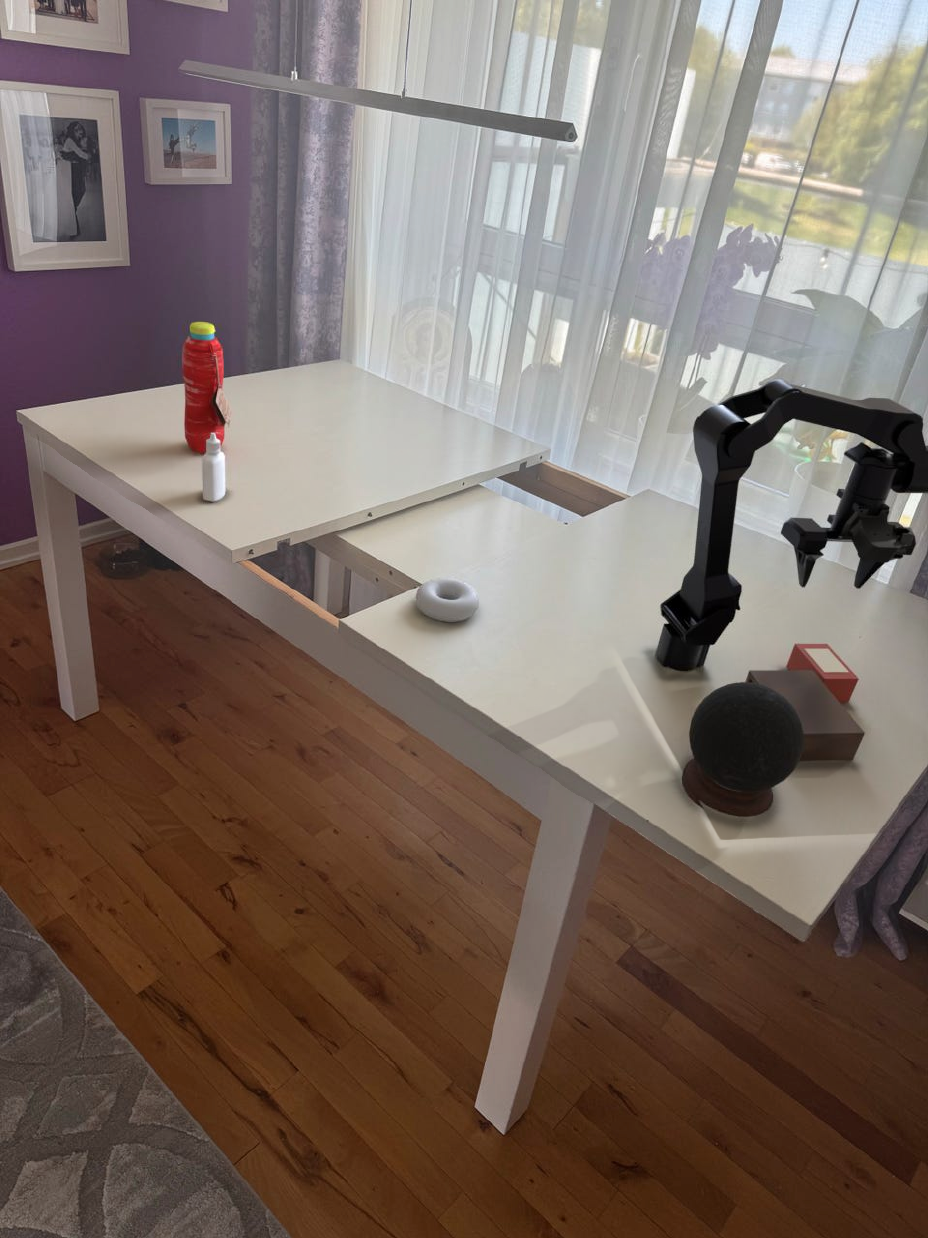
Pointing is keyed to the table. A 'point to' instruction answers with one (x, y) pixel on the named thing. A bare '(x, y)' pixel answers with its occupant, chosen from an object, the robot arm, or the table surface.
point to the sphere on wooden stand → (741, 748)
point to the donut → (458, 602)
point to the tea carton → (824, 668)
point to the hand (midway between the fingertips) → (829, 586)
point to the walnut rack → (815, 714)
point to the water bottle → (204, 387)
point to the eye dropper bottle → (213, 470)
